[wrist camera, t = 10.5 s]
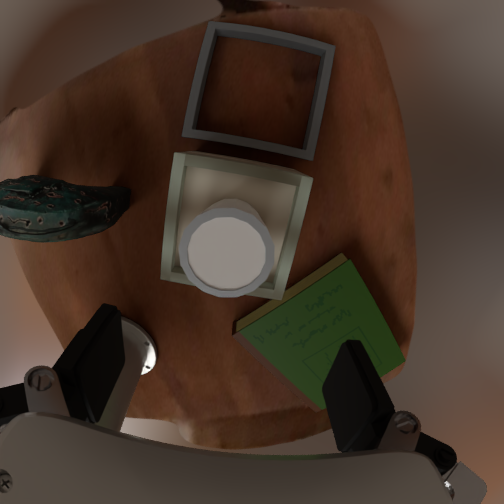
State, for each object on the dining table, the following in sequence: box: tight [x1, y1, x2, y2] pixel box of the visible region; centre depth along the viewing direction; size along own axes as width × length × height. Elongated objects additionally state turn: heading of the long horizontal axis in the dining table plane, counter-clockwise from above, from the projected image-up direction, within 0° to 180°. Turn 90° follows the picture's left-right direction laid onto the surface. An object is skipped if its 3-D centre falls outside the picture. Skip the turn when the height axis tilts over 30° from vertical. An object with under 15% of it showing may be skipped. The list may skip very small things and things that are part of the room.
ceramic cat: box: [0, 175, 131, 242], centre depth 24 cm, size 20×6×20 cm, turn 79°
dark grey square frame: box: [182, 21, 336, 161], centre depth 28 cm, size 15×15×2 cm
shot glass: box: [179, 198, 275, 297], centre depth 23 cm, size 7×7×7 cm
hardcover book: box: [232, 253, 406, 412], centre depth 41 cm, size 25×19×4 cm
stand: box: [160, 151, 313, 300], centre depth 30 cm, size 12×12×10 cm
